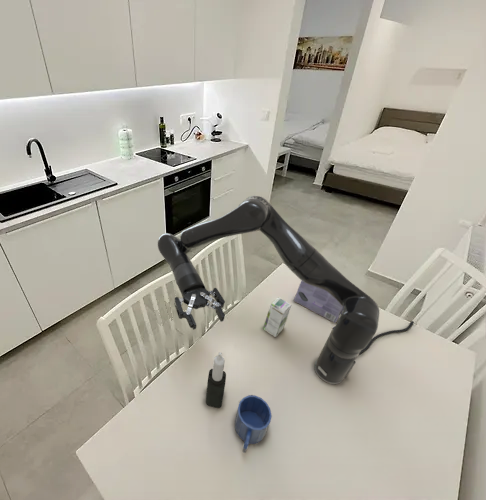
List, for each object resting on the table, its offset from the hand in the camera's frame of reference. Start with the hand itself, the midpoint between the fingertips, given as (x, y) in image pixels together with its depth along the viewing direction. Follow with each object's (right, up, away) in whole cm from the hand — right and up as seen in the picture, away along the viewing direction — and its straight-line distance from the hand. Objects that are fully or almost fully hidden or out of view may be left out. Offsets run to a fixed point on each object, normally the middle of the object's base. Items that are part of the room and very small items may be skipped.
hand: (209, 323), depth 79 cm
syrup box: (+28, -11, +33) cm, 44 cm away
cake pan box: (+48, -5, +42) cm, 64 cm away
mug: (+12, -33, +4) cm, 35 cm away
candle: (+2, -27, +11) cm, 29 cm away
